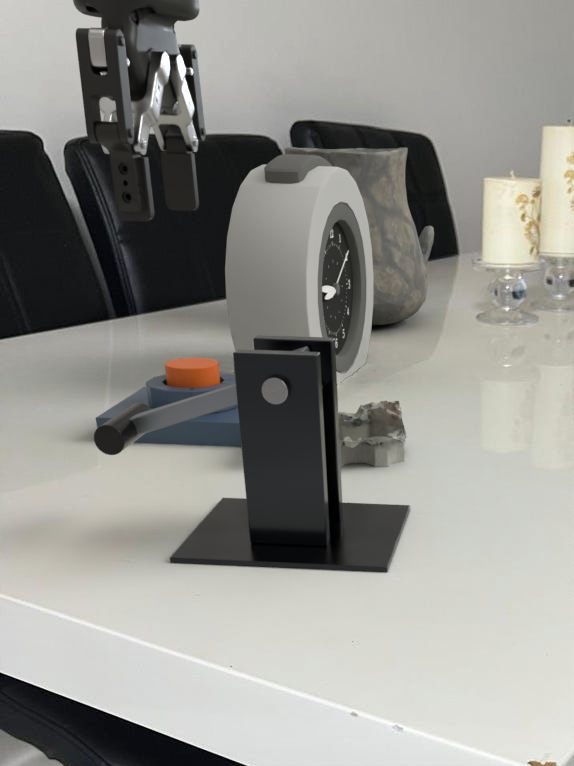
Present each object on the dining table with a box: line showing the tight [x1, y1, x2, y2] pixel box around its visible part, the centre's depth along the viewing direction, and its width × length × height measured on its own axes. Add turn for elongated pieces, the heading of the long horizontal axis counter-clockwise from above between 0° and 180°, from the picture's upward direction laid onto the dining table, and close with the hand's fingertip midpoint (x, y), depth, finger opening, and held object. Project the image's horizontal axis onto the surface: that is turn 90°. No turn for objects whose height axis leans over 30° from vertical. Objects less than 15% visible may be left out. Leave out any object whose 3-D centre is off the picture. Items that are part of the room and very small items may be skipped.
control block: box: [95, 371, 242, 448], centre depth 78 cm, size 12×10×4 cm
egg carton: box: [338, 400, 408, 468], centre depth 72 cm, size 11×8×4 cm
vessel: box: [283, 146, 435, 326], centre depth 121 cm, size 22×22×20 cm
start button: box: [164, 357, 220, 388], centre depth 77 cm, size 4×4×2 cm
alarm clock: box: [224, 153, 373, 385], centre depth 95 cm, size 21×8×20 cm, turn 170°
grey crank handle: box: [93, 346, 323, 456], centre depth 55 cm, size 12×5×2 cm, turn 87°
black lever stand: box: [169, 335, 411, 573], centre depth 56 cm, size 12×10×12 cm
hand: (161, 215), depth 68 cm, fingers open, 8 cm apart
